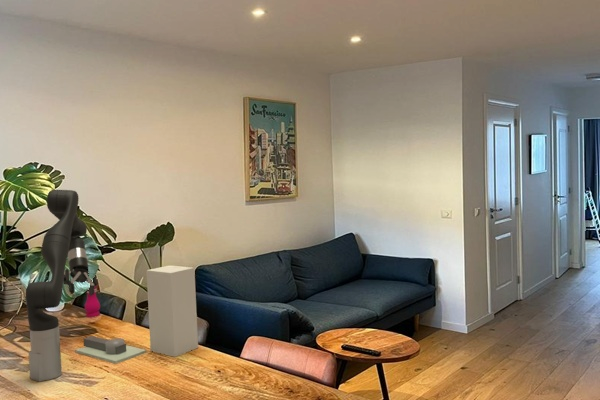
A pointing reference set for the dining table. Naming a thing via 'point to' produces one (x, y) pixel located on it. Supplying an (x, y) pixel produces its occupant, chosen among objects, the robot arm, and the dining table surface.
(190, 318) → the tower
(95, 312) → the pepper mill
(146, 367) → the dining table surface
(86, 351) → the assembly mat
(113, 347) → the gray mallet
